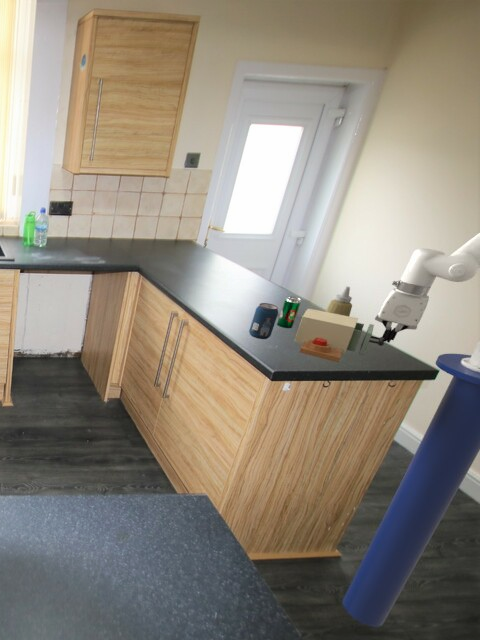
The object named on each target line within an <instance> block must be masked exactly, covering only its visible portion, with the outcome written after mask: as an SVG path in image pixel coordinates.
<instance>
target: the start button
mask: <svg viewBox="0 0 480 640" xmlns="http://www.w3.org/2000/svg"><path fill="white" fill-rule="evenodd" d="M313 343H314V344H316V345H320V346H326V344H327V340H325V339H322V338H315V339H314V342H313Z"/></svg>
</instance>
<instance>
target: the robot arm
mask: <svg viewBox="0 0 480 640" xmlns="http://www.w3.org/2000/svg"><path fill="white" fill-rule="evenodd" d="M479 268H480V232H479V233H477V234H476V235H475V236H473V237H472V238H471V239H469V240H468V241H467V242H465V244H463V245H461V247H459V248H458V249H457V250H455V251H454V252H453V253H451V255H448V254H446V253H445V252H443V251H442V250H441V251H440V250H436V249H431V248H417V249H416V250H414V252H413V253H412V255H411V257H410V259H409V261H408V263H407V265H406V267H405V269H404V272H403V273H402V275H401V278H400V279H399V280H393V281H392V283H391V286H394V287H395V288H393V289H392V290H391V291H390V292H389V294H388V295H387V297H386V298H385V299H384V301H383V304H381V307H380V309H379V311H378V313H377V314H376V316H375V317H374V320H375V321H376V322H379V323H381V324H382V325H383V327H384V328H385V330H384V331H383V334H382V335H381V337H382V338H384V342H387V343H388V344H390V343H391V341H394V340H395V338H396V336H397V334H398V333H399V332H402V331H404V330H413V331H414V330H417V329H418V325H419V323H420V322H421V320H422V317H423V315H424V313H425V311H426V309H427V306H428V303H429V299H430V297H429V295H428V293H429V291H430V290H431V287H432V286H433V284H434V282H435V280H436V278H440V279H443V280H446V281H449V282H453V283H463V282H467V281H469V280H472V278H474V277H475V276H476V275H477V273H478V271H479ZM393 323H394V324H396V326H395V327H394V328H393V327H392V325H393ZM471 355H472V356H471V358H463V359H462V360H461V364H462V365H463V366H464V367H466V368H468V369H470V370H473V371H475V372H478V373H480V339H479V340H478V342H477V344H476V346H475V348H474V350H473V352H472V353H471Z"/></svg>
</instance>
